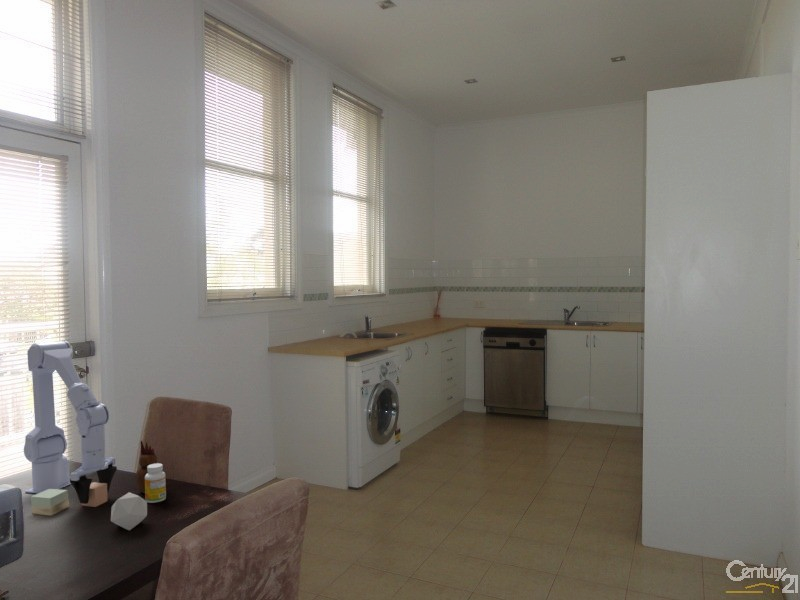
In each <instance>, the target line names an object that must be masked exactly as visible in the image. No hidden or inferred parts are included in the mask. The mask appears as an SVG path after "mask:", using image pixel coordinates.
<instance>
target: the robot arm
mask: <svg viewBox="0 0 800 600" xmlns="http://www.w3.org/2000/svg"><path fill="white" fill-rule="evenodd" d="M26 352H27V353H26V354H27V366H28V368H27V369H28V371H29V372H31V376H32V377H31V379H32V394H33V409H34V411H33V412H34V428H33V429H32V430H30V431H29V432H28V433H27V434H26V435H25V437H24V438H25V440H24V441H25V442H24V446H23V454H24V457H25V458H26V460H27V461H28V462H31V477H32V478H31V481H32V482H31V483H32V484H31V485H32V486H31V488H27V489H26V490H24V493H30V494H31V493H32V494H38V493H40V492H43V491H45V490H47V489H59V490H61V489H63V488H65V487H67V486H70V485H72V487H73V488H74V490H75V491H76V494H77V497H78V500H79V503H80V504H82V503H83V504H87V503H88V501H89V490H90V485H91V483H93V479H92V478H88V477H87V476H89V475H92V474H94V473H97V477H98V481H99V482H98V483H107V494H109V492H110V488H111V484H112V480H113V477H114V476H115V473H116V472H117V469H118V467H117V466H116V457H111V456H110V457H107V458H106V444H105V443H106V440H105V425H106V424H107V423H109V422H108V421H109V418H110V415H109V410H108V408H107V406H106V405H105V404H104V403H101V401H98V400H97V398H96V396H95V394H94V393H93V391H92V389H91V388H90V386H89V384H86V383H82V380H81V378H80V376H79V374H78V371H77V370H76V367H75V365H74V362H73V357H74V350H73V348H72V345H71V344H70V342H69V341H67V340H60V341H51V342H42V343H37V342H36V343H32V344H31V345H30V346H29V348H28V350H27V351H26ZM55 371H56V373H57V374H58V376H59V378H60V379H61V380H62V381H63V383H64V384H65V386H66V387H67V389H68V391H67V393H66V396H67V397H68V399H69V401H70V403H71V405H72V407H73V409H74V410H75V412H76V417H75V423H76V425H77V427H78V433H79V435H80V437H81V438H80V439H81V442H80V443H81V444H80V445H81V466H80V467H79V468H77V469H75V470H74V471H73V472H70V462H69V460H68V458H67V457H66V456H65V455H63V454H64V453H66V451H67V448H68V441H67V439H66V435H65V430H64V429H63V428H62V427H59V426H57V424H56V413H55V411H56V410H55V396H54V395H55V391H54V380H53V379H54V377H53V373H55Z"/></svg>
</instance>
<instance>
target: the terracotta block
mask: <svg viewBox="0 0 800 600" xmlns="http://www.w3.org/2000/svg"><path fill="white" fill-rule="evenodd" d="M106 502H108V493H107V483H99V482H97V481H95V482H94V481H92V482H91V485H90V490H89V501H88V503H87V504H83V503H81V506H85V507H94V508H96V507H98V506H100V505H103V504H104V503H106Z"/></svg>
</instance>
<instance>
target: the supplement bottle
mask: <svg viewBox="0 0 800 600" xmlns="http://www.w3.org/2000/svg"><path fill="white" fill-rule="evenodd" d="M163 465H164V464H162V463H159V462H157V463H156V464H151V465H148V466H147V472H148V473H147V474H146V475H145V493H144V500H145V501H147V504H148V503H149V504H154V503H160V502H163V501H165V500H166V498H167V488H166V487H167V486H166V485H167V483H166V472H164V471H163Z"/></svg>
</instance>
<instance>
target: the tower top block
mask: <svg viewBox="0 0 800 600" xmlns="http://www.w3.org/2000/svg"><path fill="white" fill-rule="evenodd" d="M68 490H69V489H47V490H45V491H43V492H40V493H35V494H33V495H31V497H30V502H31V505H30V506H31V507H32V506H38V507H49V508H51V507H53V506H55V505H57V504H59V503H61V502H63V501H65V500H67V499H69V491H68Z"/></svg>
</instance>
